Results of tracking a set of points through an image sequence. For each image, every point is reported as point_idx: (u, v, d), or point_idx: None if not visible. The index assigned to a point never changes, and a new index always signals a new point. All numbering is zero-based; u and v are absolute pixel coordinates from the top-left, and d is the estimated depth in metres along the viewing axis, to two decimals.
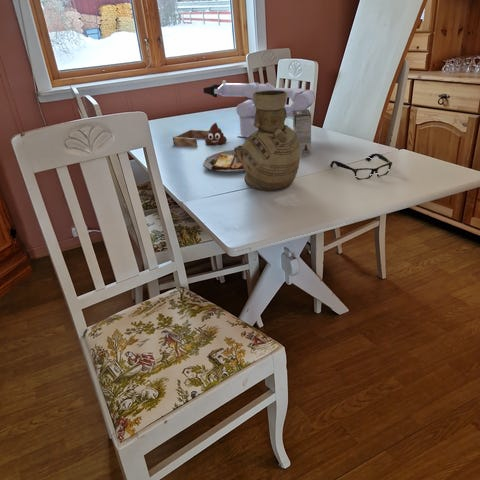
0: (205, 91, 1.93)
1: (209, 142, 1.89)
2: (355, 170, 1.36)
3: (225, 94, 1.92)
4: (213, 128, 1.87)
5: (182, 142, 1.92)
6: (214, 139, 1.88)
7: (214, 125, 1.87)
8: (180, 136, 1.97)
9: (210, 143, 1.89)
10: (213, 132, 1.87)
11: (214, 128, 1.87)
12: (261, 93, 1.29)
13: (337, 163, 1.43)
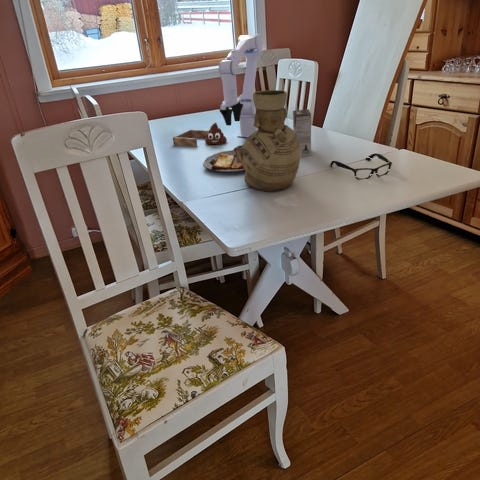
0: (228, 123, 1.79)
1: (209, 142, 1.89)
2: (355, 170, 1.36)
3: (232, 99, 1.76)
4: (213, 128, 1.88)
5: (182, 142, 1.92)
6: (214, 139, 1.88)
7: (214, 125, 1.87)
8: (180, 136, 1.97)
9: (210, 143, 1.89)
10: (213, 132, 1.87)
11: (214, 128, 1.87)
12: (261, 93, 1.29)
13: (337, 163, 1.44)
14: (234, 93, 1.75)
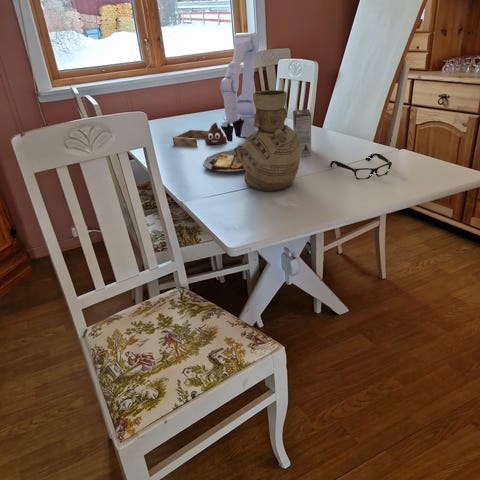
0: (230, 139, 1.82)
1: (209, 142, 1.89)
2: (355, 170, 1.36)
3: (233, 116, 1.79)
4: (213, 128, 1.88)
5: (182, 142, 1.92)
6: (214, 139, 1.88)
7: (214, 125, 1.87)
8: (180, 136, 1.97)
9: (210, 143, 1.89)
10: (213, 132, 1.87)
11: (214, 128, 1.87)
12: (261, 93, 1.29)
13: (337, 163, 1.44)
14: (235, 110, 1.78)
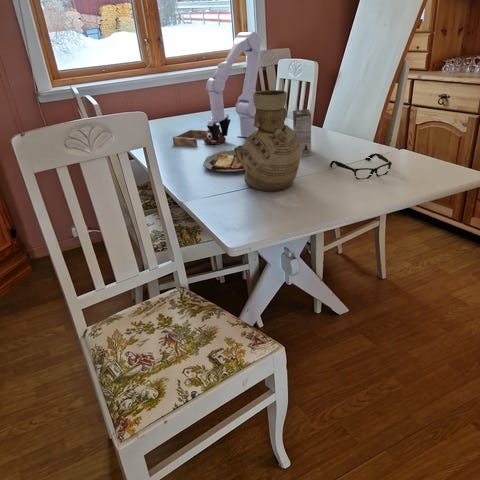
0: (216, 138, 1.86)
1: (208, 142, 1.89)
2: (355, 170, 1.36)
3: (219, 116, 1.82)
4: None
5: (182, 142, 1.92)
6: (213, 139, 1.88)
7: None
8: (180, 136, 1.97)
9: (209, 143, 1.89)
10: None
11: None
12: (261, 93, 1.29)
13: (337, 163, 1.44)
14: (221, 110, 1.82)
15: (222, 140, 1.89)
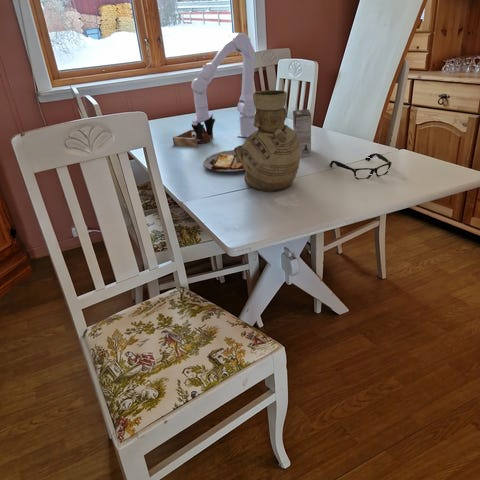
0: (200, 137, 1.89)
1: None
2: (355, 170, 1.36)
3: (203, 115, 1.86)
4: None
5: (182, 142, 1.92)
6: (197, 138, 1.92)
7: None
8: (180, 136, 1.97)
9: None
10: None
11: None
12: (261, 93, 1.29)
13: (337, 163, 1.44)
14: (205, 109, 1.85)
15: (206, 139, 1.93)
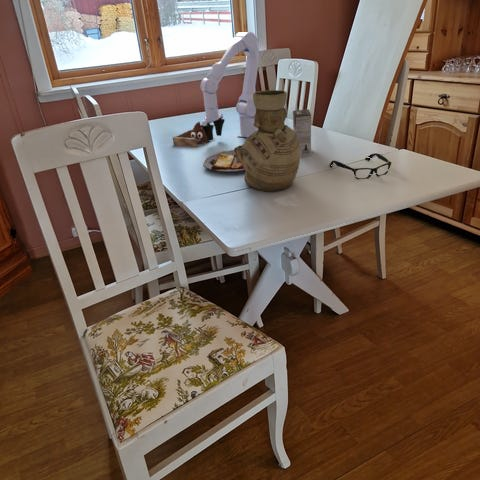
0: (210, 138, 1.87)
1: None
2: (354, 170, 1.36)
3: (213, 116, 1.84)
4: (196, 127, 1.92)
5: (182, 142, 1.92)
6: (196, 138, 1.92)
7: (197, 124, 1.92)
8: (180, 136, 1.97)
9: None
10: (196, 131, 1.92)
11: (197, 127, 1.92)
12: (261, 93, 1.29)
13: (336, 163, 1.44)
14: (215, 110, 1.83)
15: (205, 139, 1.93)
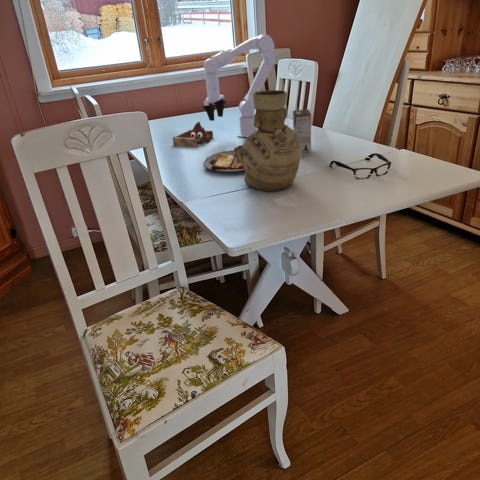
0: (211, 118, 1.90)
1: None
2: (354, 170, 1.36)
3: (214, 96, 1.87)
4: (196, 127, 1.92)
5: (182, 142, 1.92)
6: (196, 138, 1.92)
7: (197, 124, 1.92)
8: (180, 136, 1.97)
9: None
10: (196, 131, 1.92)
11: (197, 127, 1.92)
12: (261, 93, 1.29)
13: (336, 163, 1.44)
14: (216, 90, 1.86)
15: (205, 139, 1.93)
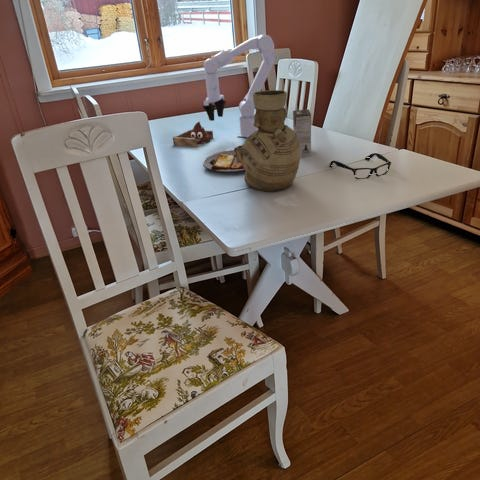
0: (211, 118, 1.90)
1: None
2: (354, 170, 1.36)
3: (214, 96, 1.87)
4: (196, 127, 1.92)
5: (182, 142, 1.92)
6: (196, 138, 1.92)
7: (197, 124, 1.92)
8: (180, 136, 1.97)
9: None
10: (196, 131, 1.92)
11: (197, 127, 1.92)
12: (261, 93, 1.29)
13: (336, 163, 1.44)
14: (216, 90, 1.86)
15: (205, 139, 1.93)
